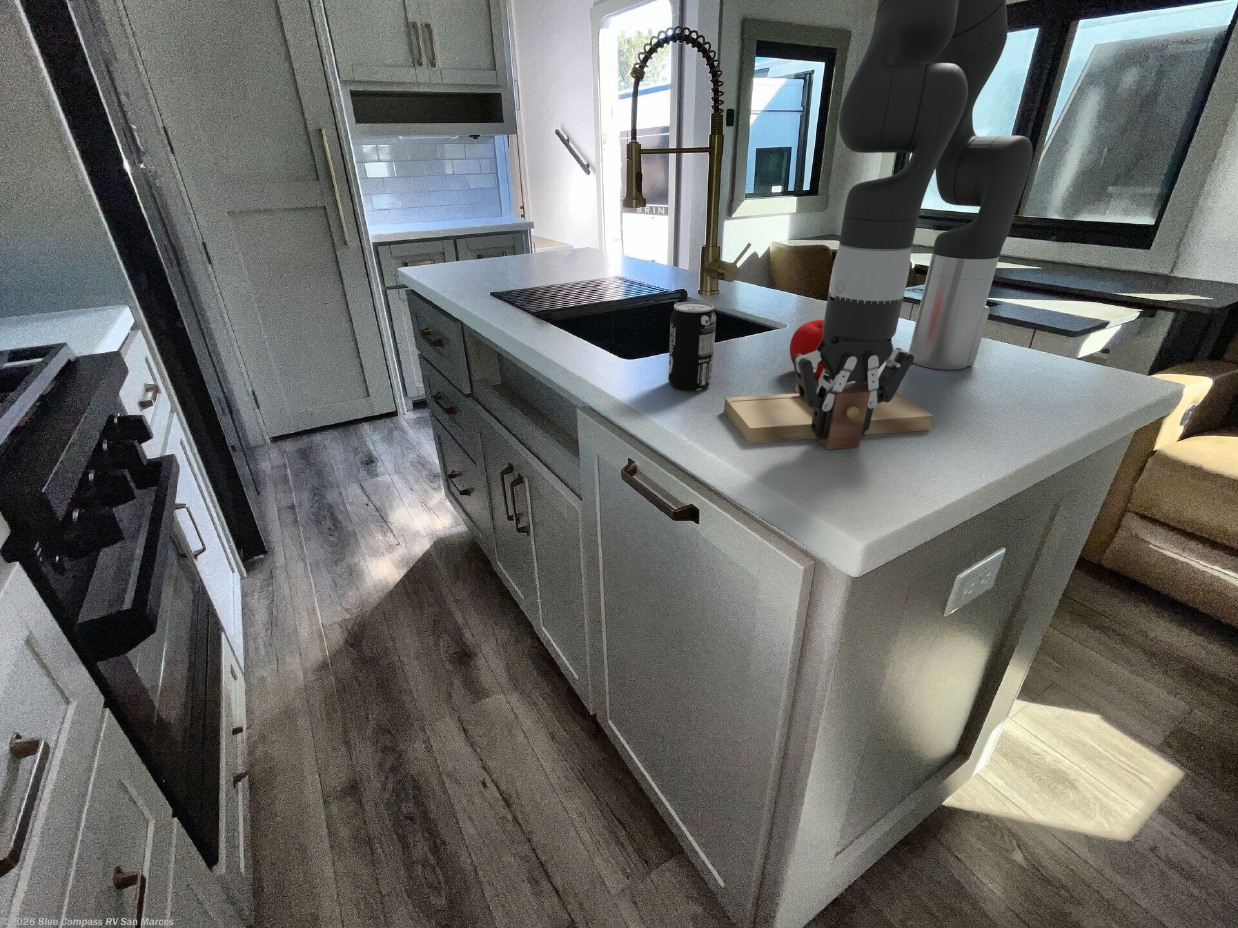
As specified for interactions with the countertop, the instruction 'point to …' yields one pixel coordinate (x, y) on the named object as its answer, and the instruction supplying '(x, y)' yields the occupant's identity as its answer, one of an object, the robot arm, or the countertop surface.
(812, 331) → the fruit
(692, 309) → the beverage can
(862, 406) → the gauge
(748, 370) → the countertop surface
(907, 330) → the countertop surface
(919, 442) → the countertop surface
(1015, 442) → the countertop surface
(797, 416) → the board
